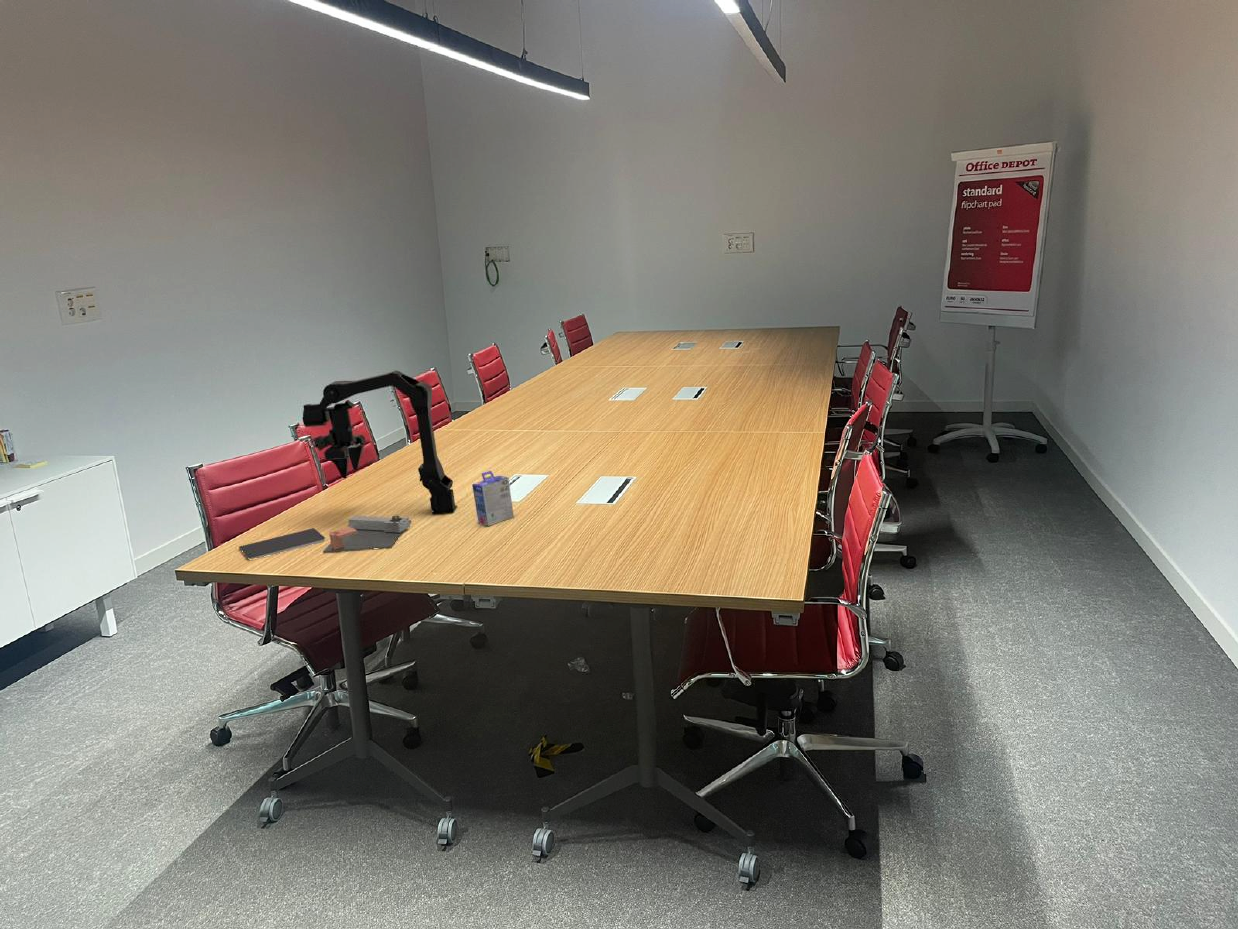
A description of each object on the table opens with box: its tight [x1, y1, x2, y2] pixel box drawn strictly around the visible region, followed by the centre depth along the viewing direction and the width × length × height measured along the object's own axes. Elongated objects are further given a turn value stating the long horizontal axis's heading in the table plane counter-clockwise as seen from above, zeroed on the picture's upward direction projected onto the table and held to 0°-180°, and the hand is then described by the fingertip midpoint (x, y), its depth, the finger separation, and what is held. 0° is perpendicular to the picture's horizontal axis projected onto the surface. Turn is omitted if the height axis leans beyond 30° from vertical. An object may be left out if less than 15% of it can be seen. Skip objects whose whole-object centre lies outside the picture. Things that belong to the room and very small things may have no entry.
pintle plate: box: [322, 514, 413, 554], centre depth 258 cm, size 19×22×5 cm
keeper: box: [329, 525, 358, 550], centre depth 250 cm, size 6×6×5 cm
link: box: [348, 515, 411, 533], centre depth 263 cm, size 18×5×3 cm, turn 68°
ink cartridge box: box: [471, 470, 515, 527], centre depth 261 cm, size 10×6×14 cm, turn 135°
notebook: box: [238, 527, 326, 559], centre depth 258 cm, size 13×2×21 cm
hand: (350, 474), depth 274 cm, fingers open, 9 cm apart
